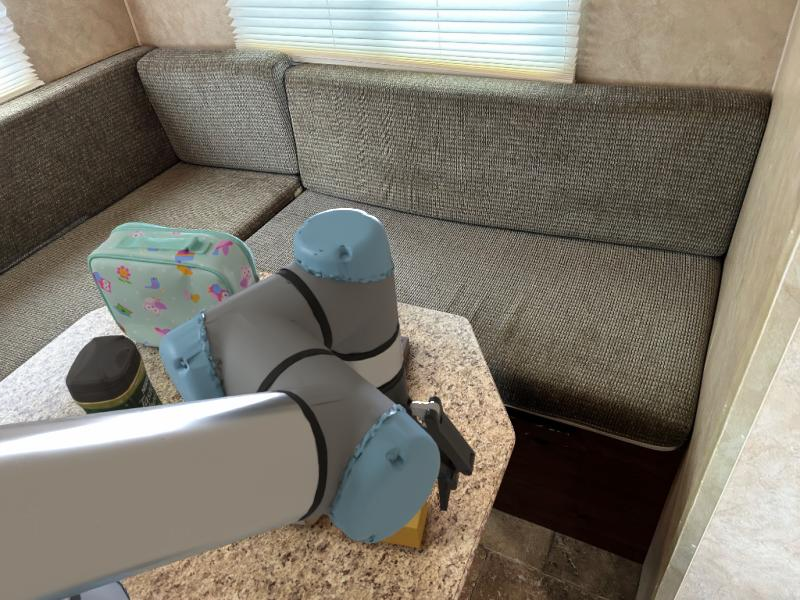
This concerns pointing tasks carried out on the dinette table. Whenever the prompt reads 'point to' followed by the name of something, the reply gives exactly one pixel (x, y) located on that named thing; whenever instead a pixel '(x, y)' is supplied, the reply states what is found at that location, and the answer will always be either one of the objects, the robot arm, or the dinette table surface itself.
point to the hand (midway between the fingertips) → (387, 491)
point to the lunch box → (167, 276)
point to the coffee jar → (110, 376)
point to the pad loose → (411, 530)
